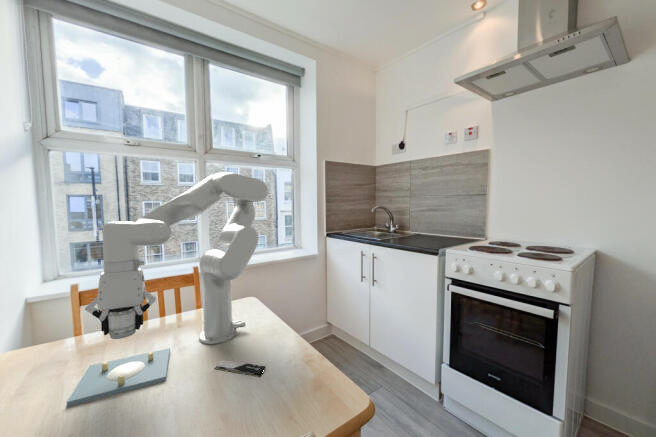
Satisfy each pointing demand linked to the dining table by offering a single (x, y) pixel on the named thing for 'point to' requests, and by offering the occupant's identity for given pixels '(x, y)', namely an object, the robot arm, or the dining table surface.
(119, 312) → the camera lens
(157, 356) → the pin board
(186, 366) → the dining table surface
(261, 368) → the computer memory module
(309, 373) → the dining table surface
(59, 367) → the dining table surface
